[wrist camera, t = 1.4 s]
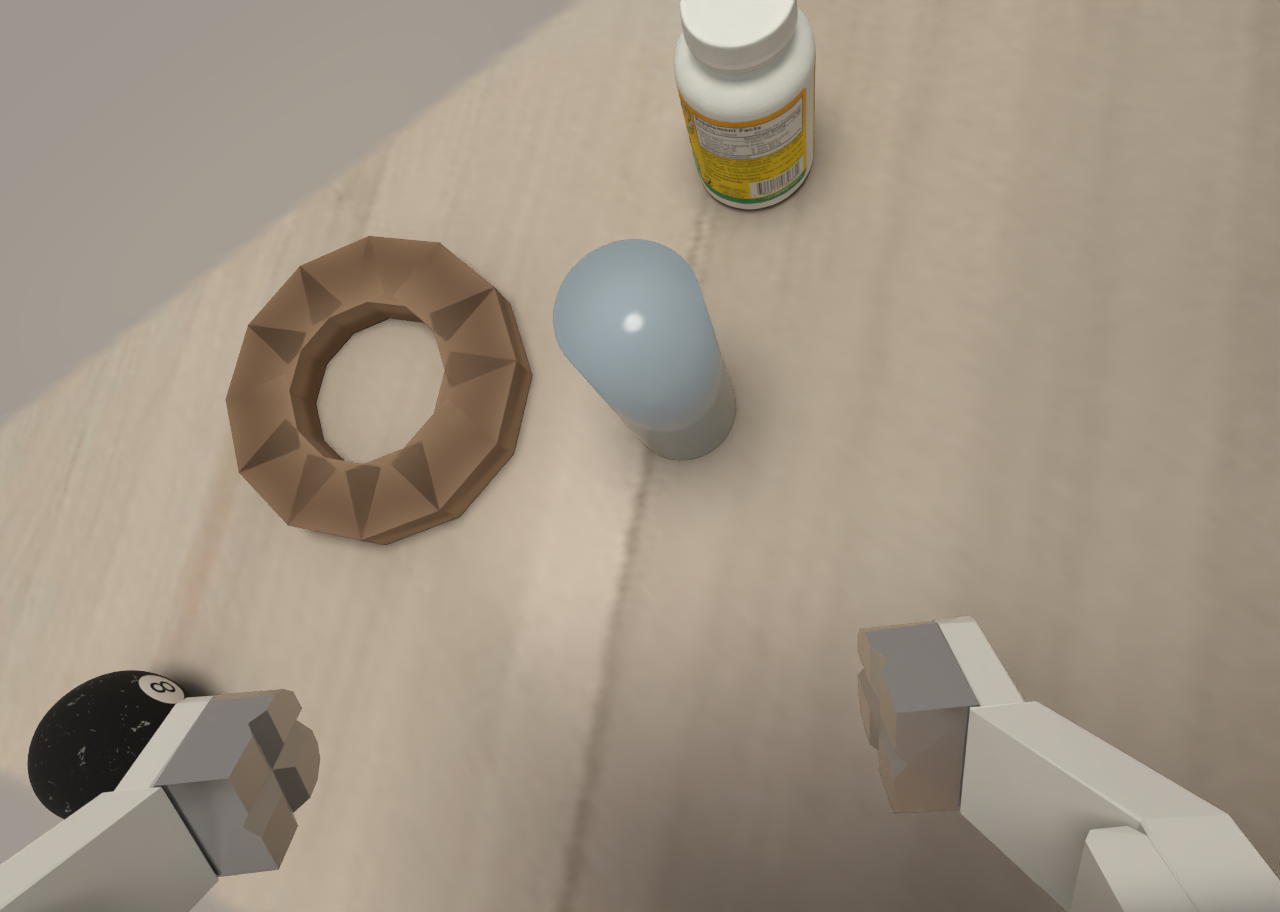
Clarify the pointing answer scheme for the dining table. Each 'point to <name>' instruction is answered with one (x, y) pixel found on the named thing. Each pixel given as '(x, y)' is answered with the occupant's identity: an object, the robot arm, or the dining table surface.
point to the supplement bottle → (747, 97)
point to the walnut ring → (446, 444)
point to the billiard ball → (97, 736)
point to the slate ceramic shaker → (647, 346)
